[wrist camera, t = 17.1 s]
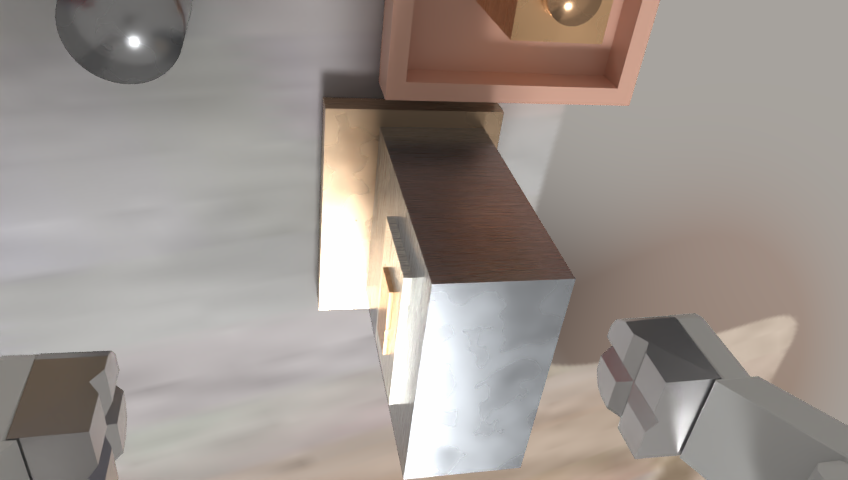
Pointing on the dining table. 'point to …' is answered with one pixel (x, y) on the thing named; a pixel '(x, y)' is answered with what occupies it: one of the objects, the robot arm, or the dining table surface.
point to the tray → (506, 57)
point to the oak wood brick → (550, 19)
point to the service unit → (441, 275)
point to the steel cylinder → (124, 36)
